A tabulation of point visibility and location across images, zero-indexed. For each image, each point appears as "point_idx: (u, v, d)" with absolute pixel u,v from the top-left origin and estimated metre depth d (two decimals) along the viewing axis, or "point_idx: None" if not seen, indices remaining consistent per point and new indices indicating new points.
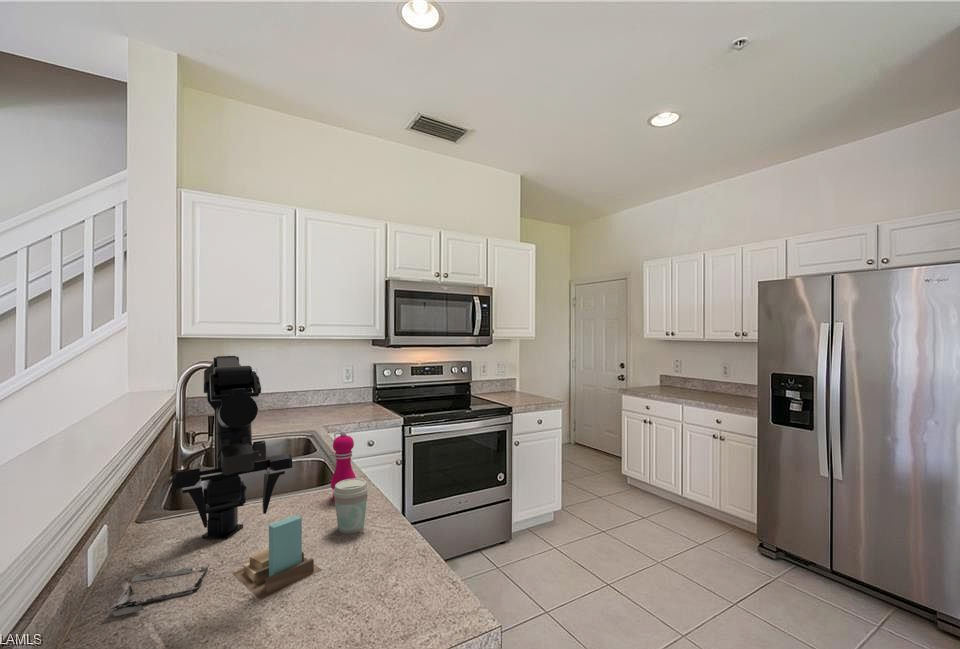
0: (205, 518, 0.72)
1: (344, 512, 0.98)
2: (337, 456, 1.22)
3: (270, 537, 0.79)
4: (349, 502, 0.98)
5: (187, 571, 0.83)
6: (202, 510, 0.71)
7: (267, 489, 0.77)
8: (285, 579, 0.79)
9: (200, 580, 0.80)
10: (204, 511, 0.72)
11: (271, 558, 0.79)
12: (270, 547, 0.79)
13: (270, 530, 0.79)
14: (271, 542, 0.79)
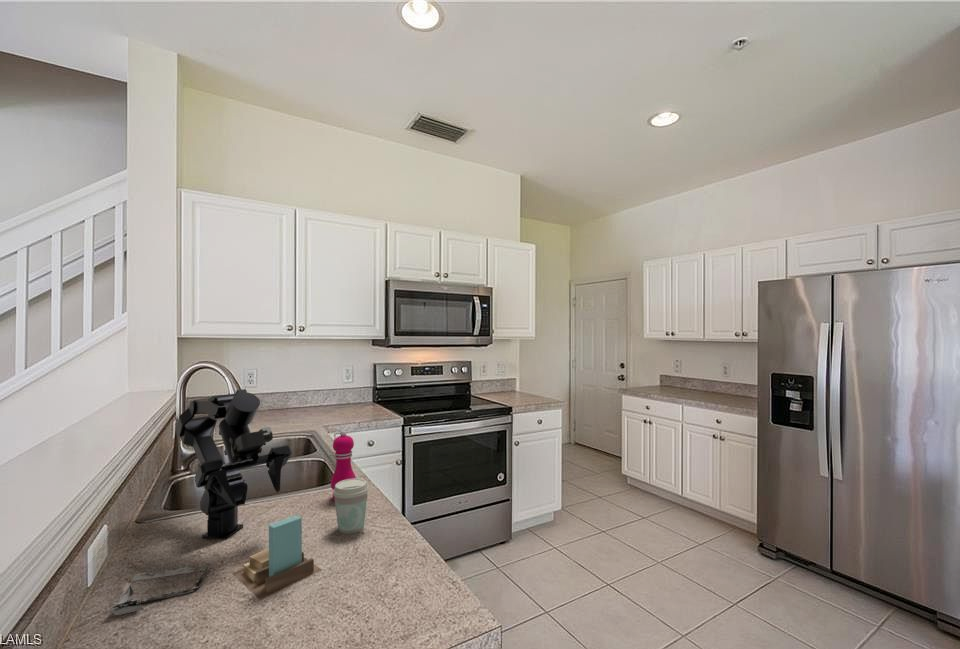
0: (232, 496, 0.86)
1: (344, 512, 0.98)
2: (337, 456, 1.22)
3: (270, 537, 0.79)
4: (349, 502, 0.98)
5: (188, 570, 0.83)
6: (228, 490, 0.87)
7: (276, 471, 0.95)
8: (285, 579, 0.79)
9: (201, 579, 0.80)
10: (230, 490, 0.87)
11: (271, 558, 0.79)
12: (270, 547, 0.79)
13: (270, 530, 0.79)
14: (271, 542, 0.79)
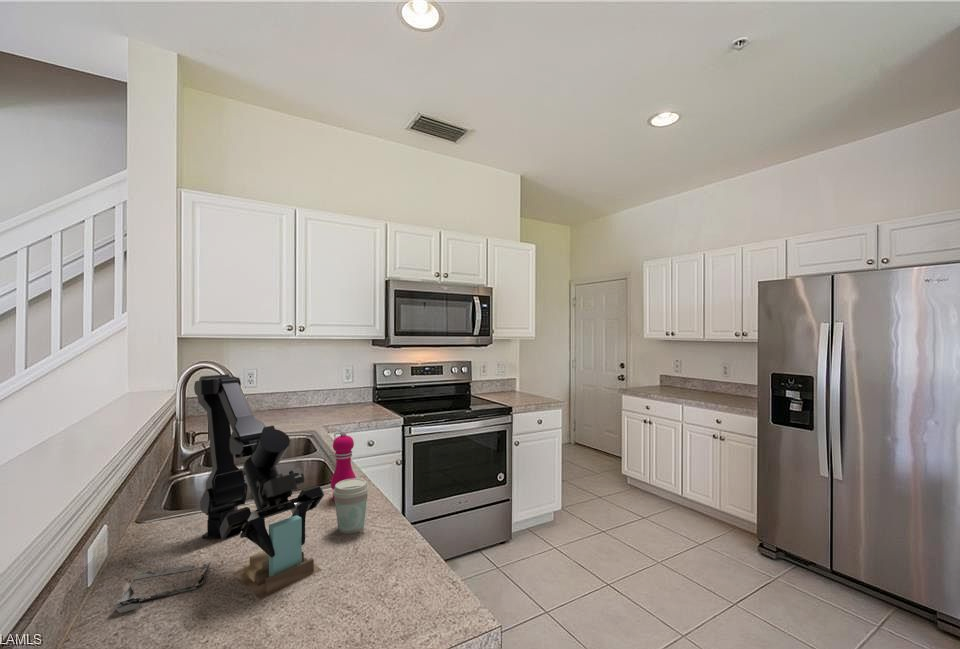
0: (272, 546, 0.78)
1: (344, 512, 0.98)
2: (337, 456, 1.22)
3: (270, 537, 0.79)
4: (349, 502, 0.98)
5: (189, 568, 0.84)
6: (267, 539, 0.78)
7: None
8: (285, 579, 0.79)
9: (203, 577, 0.81)
10: (269, 540, 0.79)
11: (271, 558, 0.79)
12: None
13: (270, 530, 0.79)
14: None
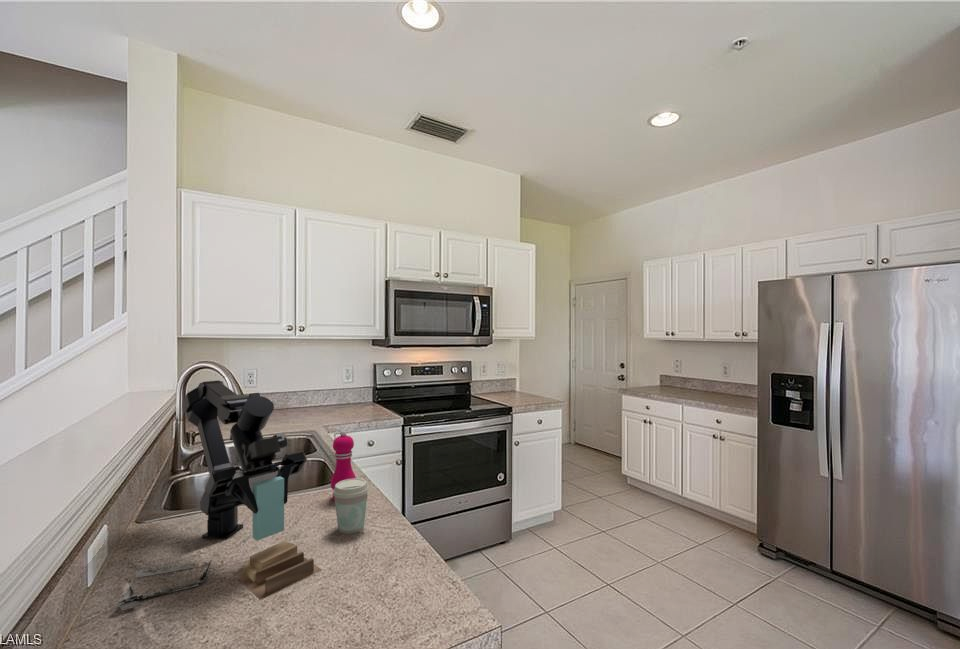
0: (255, 503, 0.83)
1: (344, 512, 0.98)
2: (337, 456, 1.22)
3: (254, 495, 0.84)
4: (349, 502, 0.98)
5: (190, 566, 0.85)
6: (251, 497, 0.83)
7: None
8: (285, 579, 0.79)
9: (205, 574, 0.82)
10: (253, 497, 0.84)
11: (254, 514, 0.84)
12: None
13: (254, 488, 0.84)
14: (255, 499, 0.84)
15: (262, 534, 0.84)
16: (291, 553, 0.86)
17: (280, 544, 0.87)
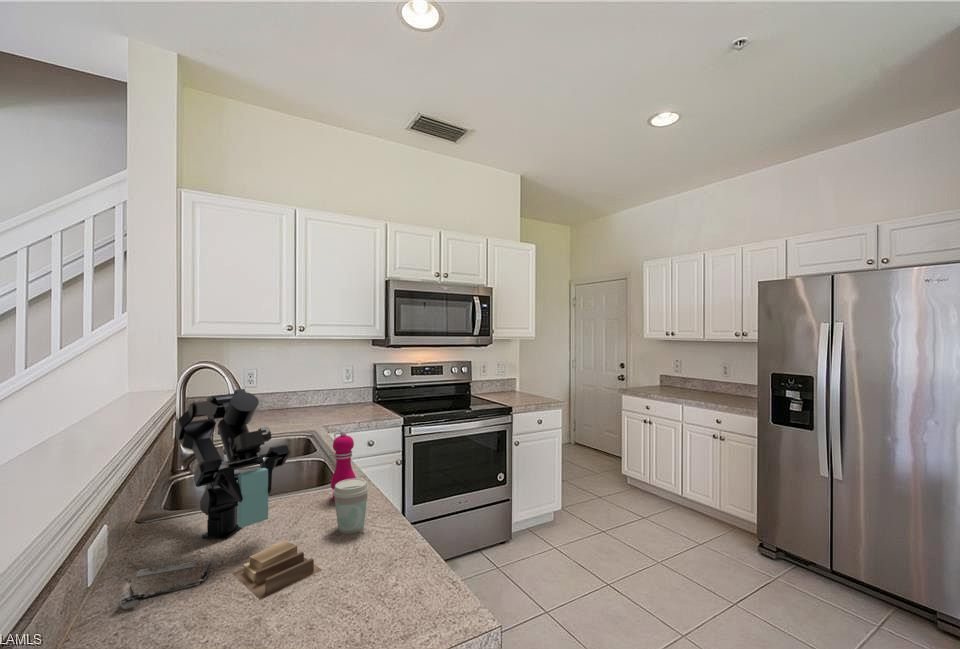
0: (240, 492, 0.88)
1: (344, 512, 0.98)
2: (337, 456, 1.22)
3: (239, 485, 0.89)
4: (349, 502, 0.98)
5: (191, 565, 0.85)
6: (236, 486, 0.89)
7: None
8: (285, 579, 0.79)
9: (206, 573, 0.82)
10: (238, 487, 0.89)
11: (239, 503, 0.89)
12: None
13: (239, 478, 0.89)
14: None
15: (247, 522, 0.89)
16: (291, 553, 0.86)
17: (280, 544, 0.87)
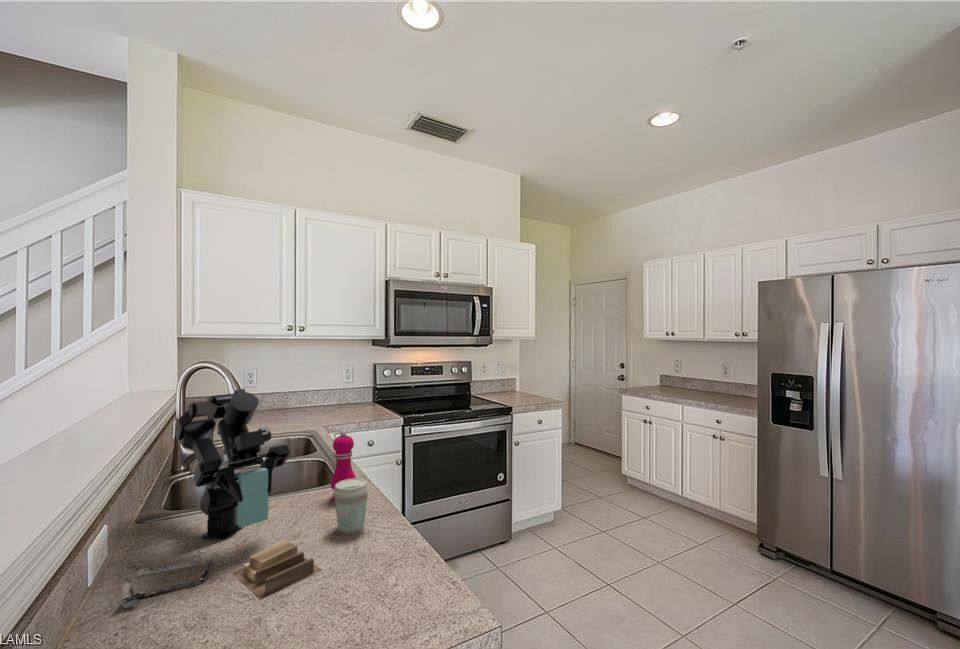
0: (240, 492, 0.88)
1: (344, 512, 0.98)
2: (337, 456, 1.22)
3: (239, 485, 0.89)
4: (349, 502, 0.98)
5: (191, 564, 0.86)
6: (236, 486, 0.89)
7: None
8: (285, 579, 0.79)
9: (206, 572, 0.82)
10: (238, 487, 0.89)
11: (239, 503, 0.89)
12: None
13: (239, 478, 0.89)
14: None
15: (247, 522, 0.89)
16: (291, 553, 0.86)
17: (280, 544, 0.87)
